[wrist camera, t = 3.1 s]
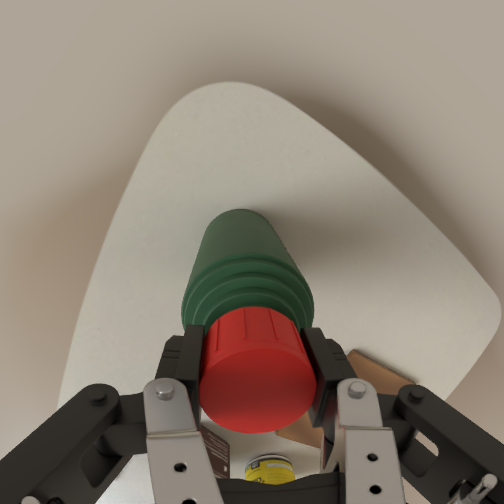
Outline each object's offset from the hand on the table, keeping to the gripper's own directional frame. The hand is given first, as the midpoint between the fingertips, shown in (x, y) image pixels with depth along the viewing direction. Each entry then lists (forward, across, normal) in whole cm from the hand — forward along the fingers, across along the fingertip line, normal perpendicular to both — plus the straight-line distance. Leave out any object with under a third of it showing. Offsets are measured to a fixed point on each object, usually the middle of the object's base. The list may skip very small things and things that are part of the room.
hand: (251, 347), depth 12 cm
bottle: (+16, 0, 0) cm, 16 cm away
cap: (0, 0, 0) cm, 0 cm away
